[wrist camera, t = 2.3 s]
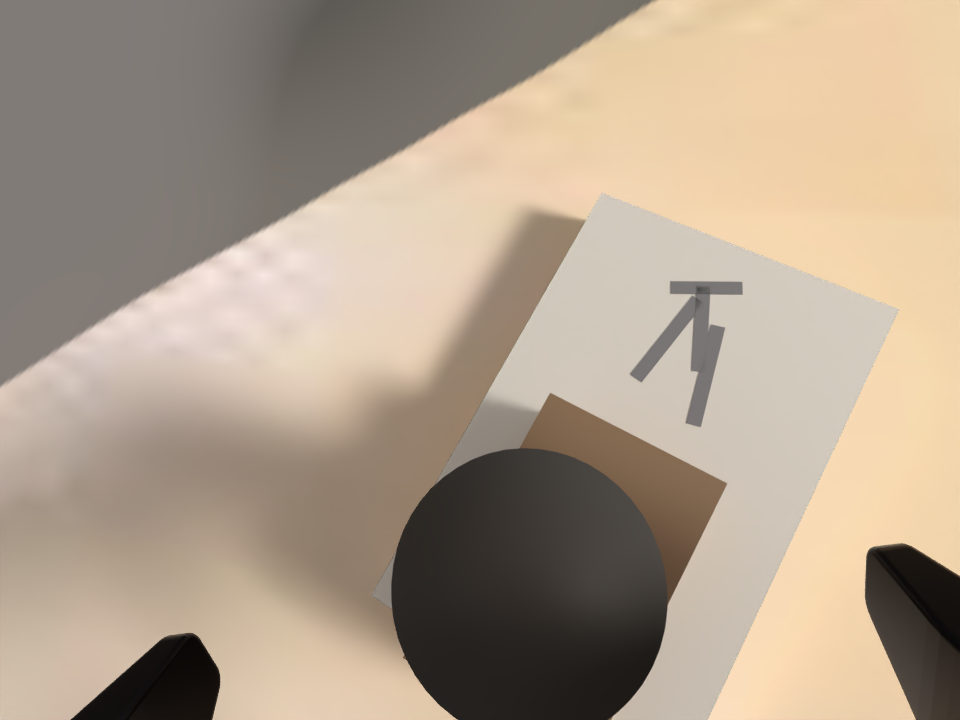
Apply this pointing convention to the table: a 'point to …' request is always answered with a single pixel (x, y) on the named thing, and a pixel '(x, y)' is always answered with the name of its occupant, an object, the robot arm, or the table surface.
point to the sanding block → (547, 570)
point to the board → (693, 407)
